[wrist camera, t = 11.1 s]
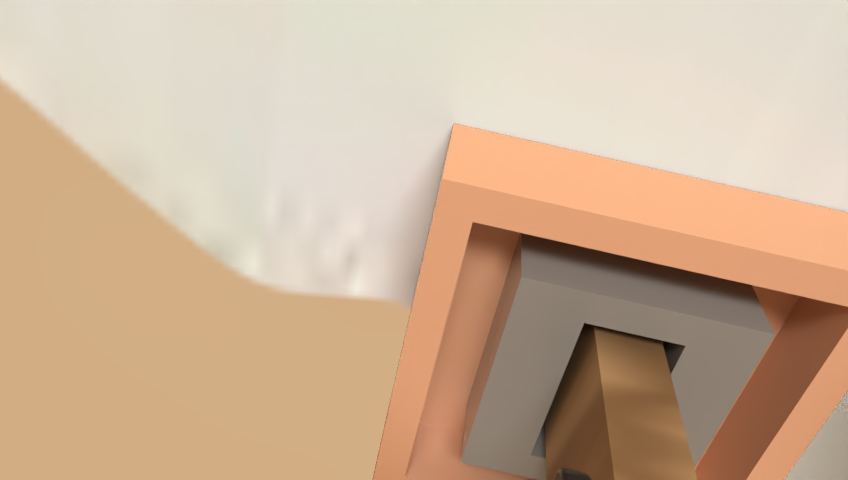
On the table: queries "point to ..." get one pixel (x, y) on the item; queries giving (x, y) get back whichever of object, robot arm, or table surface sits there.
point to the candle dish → (613, 310)
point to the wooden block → (617, 412)
